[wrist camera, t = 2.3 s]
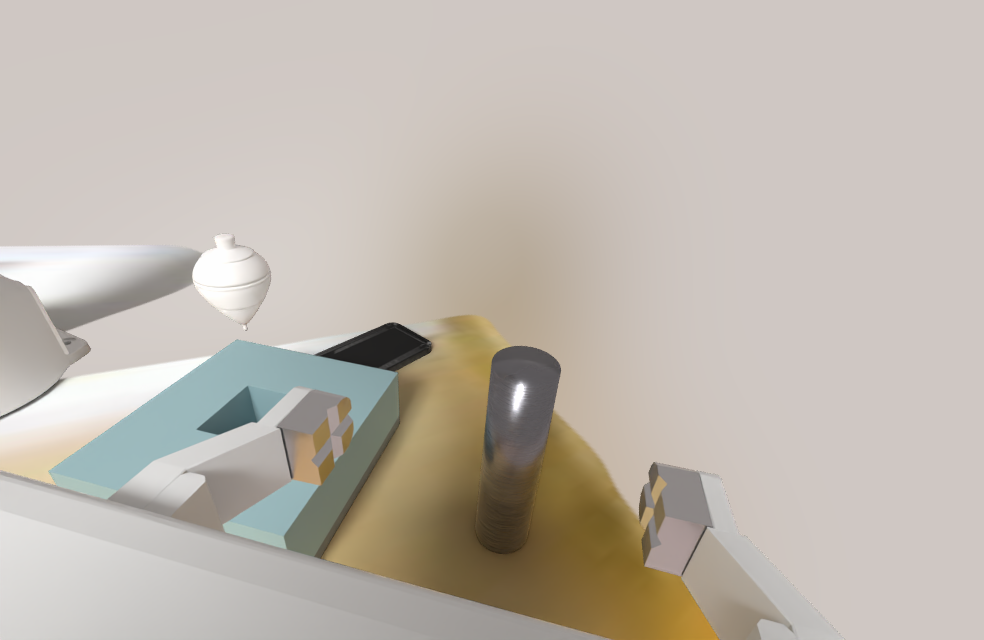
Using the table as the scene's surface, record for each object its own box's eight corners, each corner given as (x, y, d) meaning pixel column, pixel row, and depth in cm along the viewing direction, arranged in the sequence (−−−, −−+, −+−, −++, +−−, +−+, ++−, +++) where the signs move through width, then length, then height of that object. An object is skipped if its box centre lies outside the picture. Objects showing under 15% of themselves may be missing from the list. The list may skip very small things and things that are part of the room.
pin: (464, 532, 32) (478, 367, 24) (494, 496, 34) (515, 338, 27) (510, 565, 30) (540, 397, 22) (537, 523, 33) (572, 363, 25)
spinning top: (263, 350, 49) (241, 250, 43) (194, 345, 49) (163, 244, 43) (290, 317, 56) (275, 227, 50) (230, 312, 55) (208, 222, 49)
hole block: (85, 532, 29) (48, 471, 26) (249, 389, 43) (236, 339, 40) (298, 595, 27) (283, 536, 24) (399, 423, 41) (397, 372, 38)
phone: (435, 344, 52) (322, 403, 41) (435, 352, 52) (324, 411, 42) (392, 320, 56) (280, 368, 45) (393, 327, 56) (282, 376, 46)
